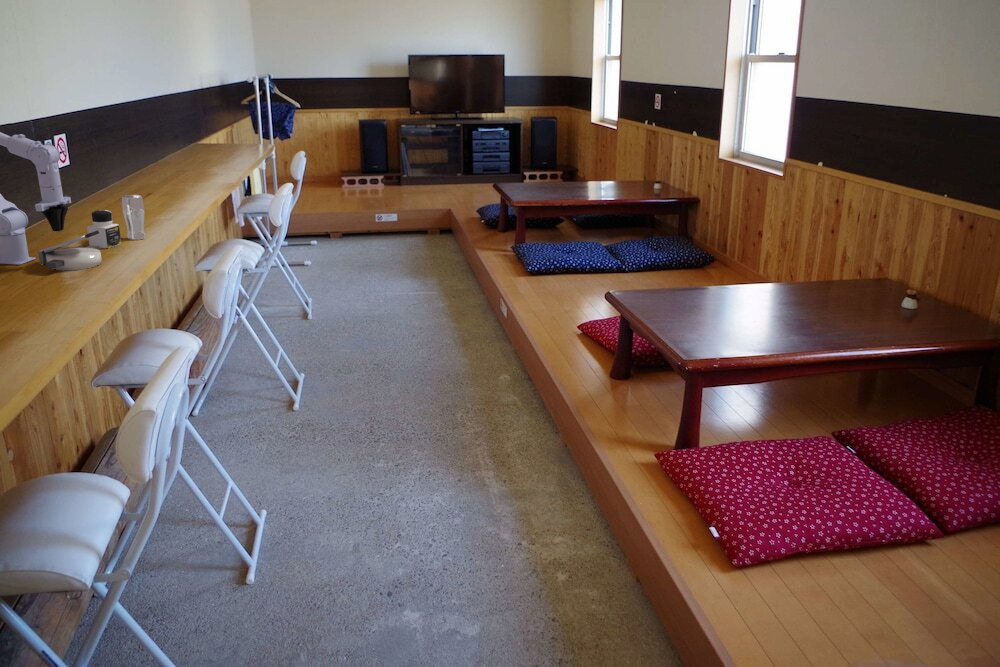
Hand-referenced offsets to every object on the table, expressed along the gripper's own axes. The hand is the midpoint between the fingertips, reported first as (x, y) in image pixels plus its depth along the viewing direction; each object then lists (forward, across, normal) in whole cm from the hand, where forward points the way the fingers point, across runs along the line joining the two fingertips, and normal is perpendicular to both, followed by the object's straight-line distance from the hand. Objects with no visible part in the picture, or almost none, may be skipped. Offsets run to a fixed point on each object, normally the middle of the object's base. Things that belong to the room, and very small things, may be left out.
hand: (58, 230), depth 242 cm
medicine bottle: (+11, +25, +1) cm, 27 cm away
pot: (+10, 0, -4) cm, 11 cm away
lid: (+4, 0, -4) cm, 6 cm away
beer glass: (+11, +38, -3) cm, 40 cm away
